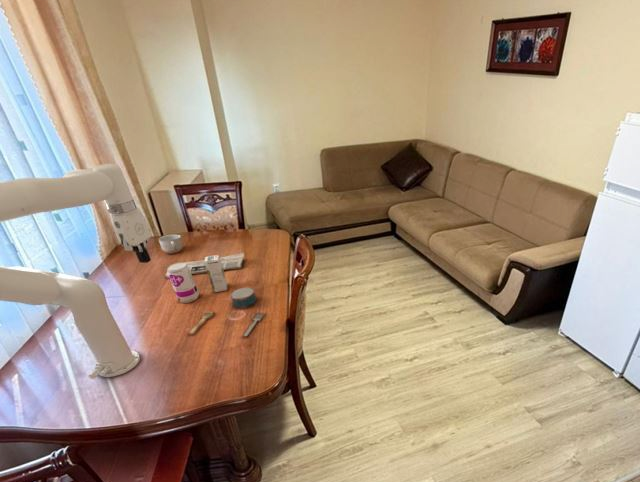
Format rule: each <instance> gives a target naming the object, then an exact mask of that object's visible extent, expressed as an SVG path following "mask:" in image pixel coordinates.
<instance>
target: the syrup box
mask: <svg viewBox="0 0 640 482" xmlns="http://www.w3.org/2000/svg"><path fill="white" fill-rule="evenodd" d="M220 258H221V257H220V255H219V254H214V255H209V256H205V257H204V260H205V262H204V263H205V266H206V269H207V272H206V273H207V276H208V278H209V282H210V285H211V288H212V291H213V293H220V292H225V291H228V281H227V279H226V274H225V270H223V267H222V264H221V261H220Z"/></svg>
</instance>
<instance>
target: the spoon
mask: <svg viewBox="0 0 640 482" xmlns="http://www.w3.org/2000/svg"><path fill="white" fill-rule="evenodd" d="M214 315H215V314H214V312H213V311H210V310H209V311H205V312H203V313H202V314H201V319H200V320H199V321H198V322H197V323H196V324H195V325H194V326H193V328H192V329H191V330H190V331H189V332H188V334H189V335H190V336H193V335H195V333H196V332H197V331H198V330H199V329H200V328H201V326H202V325H204V323H205V322H206V321H208V320H209V319H211V318H213V317H214Z"/></svg>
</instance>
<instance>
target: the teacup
mask: <svg viewBox="0 0 640 482" xmlns="http://www.w3.org/2000/svg"><path fill="white" fill-rule="evenodd" d="M158 242H159V245H160V248H161V250H162V251H163V252H165V253H167V254H177V253H179V252H181V251H182V250H183V248H184V243H183V240H182V236H181V235H180V234H167V235H162V236H160V237H159V238H158Z"/></svg>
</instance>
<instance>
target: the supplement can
mask: <svg viewBox="0 0 640 482" xmlns="http://www.w3.org/2000/svg"><path fill="white" fill-rule="evenodd" d="M166 273H168V276H169V277H168V278H169V281H170V284H171V285H172V288H173V291H174V293H175V295H176V298H177V300H178V302H180V303H182V304H188V303H192V302H194V301H196V300H197V299H198V297H199V296H200V293H199V291H198V288H197V285H196V283H195V280H194V277H193V274H191V271H190V269H189V267H188V266H187V265H186V264H185V262H176V263H172V264H170V265H169V266H167V272H166Z"/></svg>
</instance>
